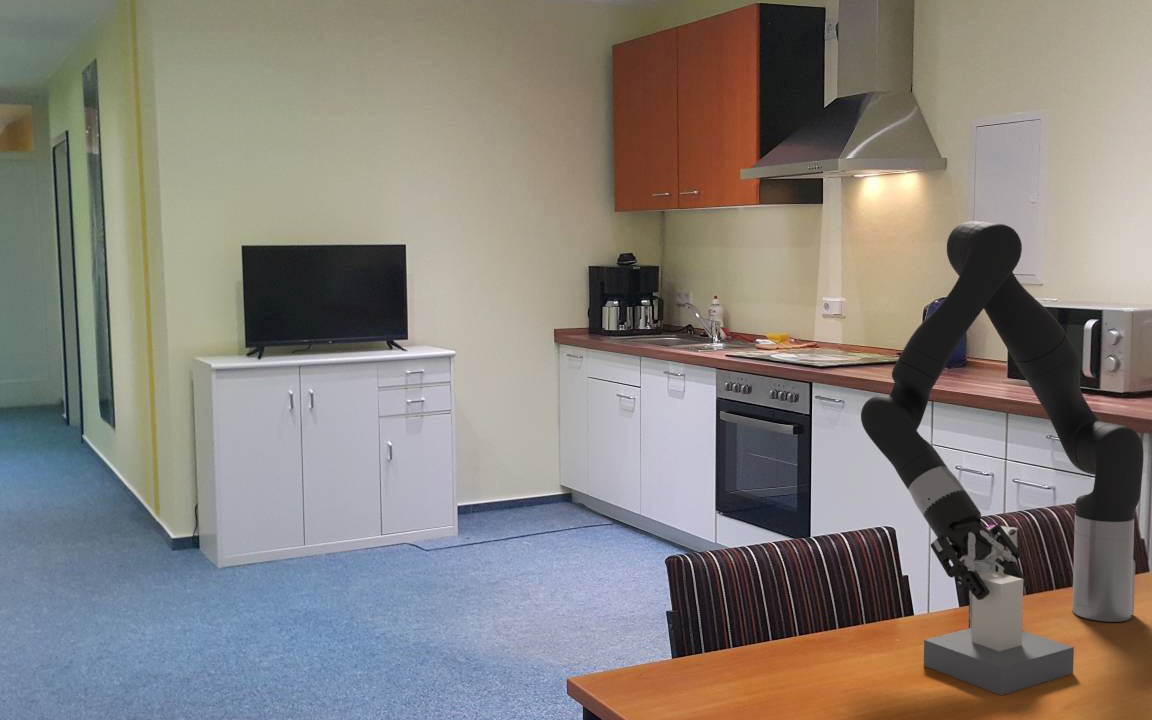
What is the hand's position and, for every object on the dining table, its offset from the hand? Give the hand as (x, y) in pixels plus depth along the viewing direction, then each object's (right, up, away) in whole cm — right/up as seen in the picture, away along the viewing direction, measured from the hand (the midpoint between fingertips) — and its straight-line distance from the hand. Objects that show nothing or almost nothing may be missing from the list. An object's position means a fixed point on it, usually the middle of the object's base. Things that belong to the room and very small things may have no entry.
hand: (1004, 592), depth 166 cm
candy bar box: (+6, -10, +21) cm, 24 cm away
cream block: (-1, -8, +1) cm, 8 cm away
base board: (0, -12, +2) cm, 12 cm away
